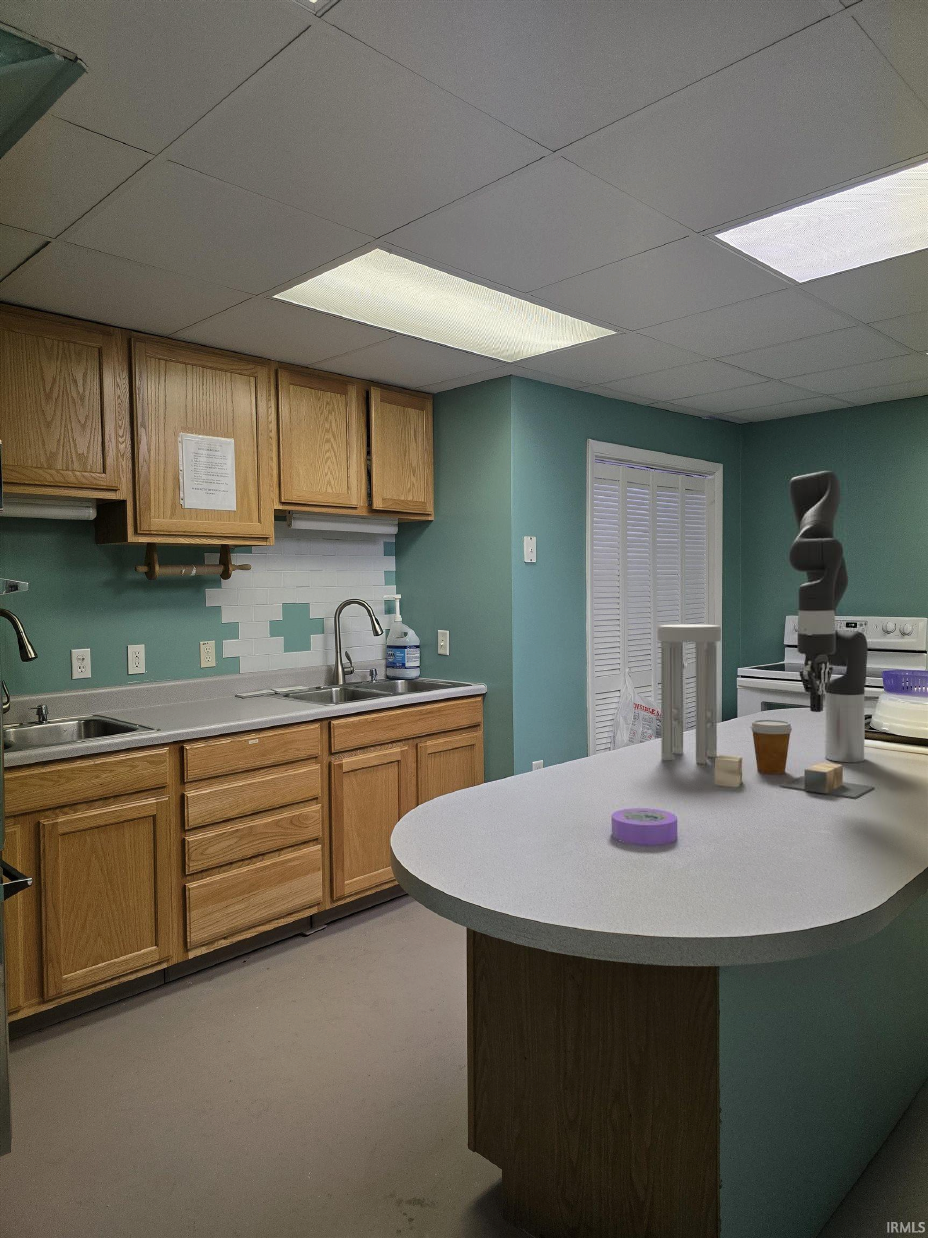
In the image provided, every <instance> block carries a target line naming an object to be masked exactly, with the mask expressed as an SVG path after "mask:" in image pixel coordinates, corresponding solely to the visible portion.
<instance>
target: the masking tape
mask: <svg viewBox="0 0 928 1238" xmlns="http://www.w3.org/2000/svg"><path fill="white" fill-rule="evenodd" d="M611 836H612V837H613V838H614V839H615V838H616V839H615V840H617V839H618V840H617V841H619V840H621V841H620V842H622V841H624V842H623V843H625V842H628V843H627V844H629V843H630V844H631V845H635V846H637V845H638V846H664V845H668V844H672V843H674V842H676V841H677V840H678V816H677V815H676V814H675V813H672V812H670V811H667V810H663V809H656V808H645V807H644V808H643V807H642V808H639V807H636V808H633V807H632V808H623V809H620V810H617V811H614V812H612V814H611Z"/></svg>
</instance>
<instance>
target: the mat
mask: <svg viewBox="0 0 928 1238" xmlns="http://www.w3.org/2000/svg"><path fill="white" fill-rule="evenodd" d="M779 787H780V788H786V789H793V790H798V791H805V792H811V793H816V794H817V793H818V794H823V795H829V796H830V795H831V796H836V797H841V798H849V799H854V800H856V799H857V798H859V797H861V796H864V795H865V794H866V793H868V792H871V791H872V790H874V789H875V786H873V785H866V784H859V783H854V782H853V783H852V782H847V781H846V782H845V781H843V785H841V786H839V787H837V788H835V789H833V790H831V791H829V792H827V793H821V792H815V791H809V790H804V775H801V776H798V777H796V778H793V779H791V780H789V781H787V782H786V781H785V782H784V783H781V784H780V785H779Z"/></svg>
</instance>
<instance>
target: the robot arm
mask: <svg viewBox="0 0 928 1238" xmlns="http://www.w3.org/2000/svg"><path fill="white" fill-rule="evenodd" d="M788 487H789V488H788V489H789V496H790V500H791V505H792V510H793V514H794V517H795V521H796V526H797V529H798V532H799V534H798V535H797V537H796V538H794V540H793V542H792V544H791V546H790V549H789V553H788V558H789V563H790V566H791V567H792V568H793V569H794V570H796V571H797V572H805V573H806V574H805V575H806V577H807V582H806V583H803V584H801V585H800V586H799V588H798V614H797V615H798V616H797V626H796V627H797V652H798V654H801V655H802V654H803V655H805V657H804V663H803V670H799V677H800V680H801V683H802V686H803V688H804V692H805V693H808V695H809V699H810V700H809V705H810V707H809V708H810V709H809V710H810V712H813V713H820V712H823V711H824V708H825V711H824V712H825V714H824V715H825V716H824V717H825V718H824V721H825V722H824V728H825V729H824V731H825V732H824V733H825V734H824V737H825V741H824V743H825V745H824V746H825V747H824V751H825V752H824V758H825V759H827V760H830V761H833V762H840V763H842V762H843V763H861V762H864V761H865V710H866V709H865V691H866V690H865V688H866V682H867V665H868V651H869V650H868V649H869V648H868V647H869V646H868V641H867V640H868V639H867V637H866V635H865V634H864V633H863V632H861V631H858V630H836V615H835V613H836V610H837V608H838V606H839V604H840V602H841V600H842V598H843V597H844V596H845V595H844V594H845V593H846V591H847V589H848V588H847V587H848V583H849V576H848V572H847V571H848V570H847V566H846V565H847V564H846V560H845V557H844V547H843V545H842V543H841V542H840V540H838V539H837V538H834V533H835V532H834V523H835V522H834V521H835V519H836V516H837V513H838V509H839V506H840V503H841V488H840V482H839V479H838V476H837V474H836V473H835V472H834V471H831V470H822V471H818V472H812V473H807V474H803V475H798V476H795V477H792V478H791V480H790V481H789V486H788ZM833 667H844V668H846V669H845V672H844V674H843V675H842V676H840V677H838V678H833V679H832V674H833V670H834V668H833ZM824 694H825V695H824ZM824 697H825V699H824ZM824 700H825V701H824ZM824 703H825V705H824ZM824 706H825V707H824Z"/></svg>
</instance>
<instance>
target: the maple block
mask: <svg viewBox="0 0 928 1238" xmlns="http://www.w3.org/2000/svg"><path fill="white" fill-rule="evenodd" d="M714 767H715V769H714V773H715V774H714V780H715V781H714V782H715V783H714V784H715V786H725V787H733V788H738V787H740V785H741V784H742V783H743V756H737V755H726V754H725V755H724V754H719V755H717V756H716V757H715V759H714Z"/></svg>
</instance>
